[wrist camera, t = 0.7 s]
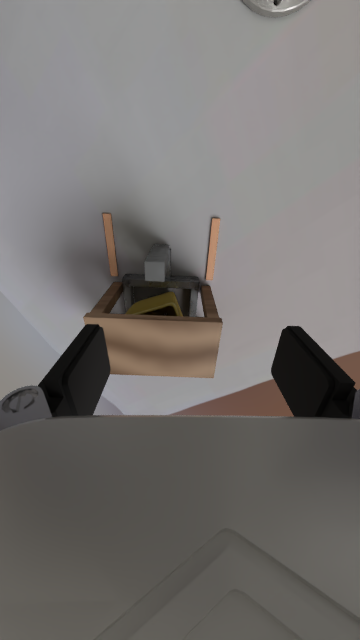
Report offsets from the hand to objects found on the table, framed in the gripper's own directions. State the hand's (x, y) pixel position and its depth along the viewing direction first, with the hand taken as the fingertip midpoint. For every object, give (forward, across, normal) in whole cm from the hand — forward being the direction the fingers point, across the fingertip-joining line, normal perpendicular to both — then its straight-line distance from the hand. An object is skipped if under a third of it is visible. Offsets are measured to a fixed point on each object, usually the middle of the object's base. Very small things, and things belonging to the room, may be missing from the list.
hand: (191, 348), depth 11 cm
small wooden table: (+28, +4, +11) cm, 31 cm away
